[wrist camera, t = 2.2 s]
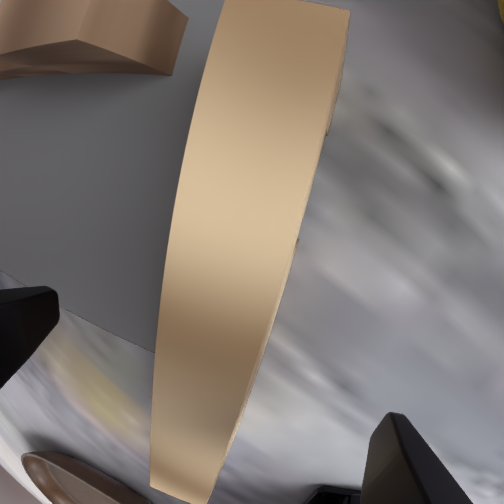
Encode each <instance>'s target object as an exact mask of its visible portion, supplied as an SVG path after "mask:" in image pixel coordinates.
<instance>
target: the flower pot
mask: <svg viewBox="0 0 504 504" xmlns="http://www.w3.org/2000/svg"><path fill="white" fill-rule="evenodd" d="M497 2H498V8H499V12H500V16H501V19H502V22H503V23H504V0H497Z"/></svg>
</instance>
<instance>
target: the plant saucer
mask: <svg viewBox="0 0 504 504" xmlns="http://www.w3.org/2000/svg"><path fill="white" fill-rule="evenodd" d="M21 461H22V465H23V467H24V469H25V471H26V473H27V474H28V476H29V477H30V479H31V480H32V482H33V483H34V484H35V485H36V487H37V488H38V489H39V490H40V491H41V492H42V493H43V494H44V495H45V496H46V497H47V499H48V500H49V501H50V502H52V503H53V504H152V503H151V502H149V501H148V500H147V499H145V498H144V497H142V496H141V495H139V494H138V493H136V492H134V491H133V490H131V489H130V488H128V487H127V486H125V485H123V484H122V483H120V482H118V481H117V480H115V479H113V478H112V477H110V476H108V475H107V474H105V473H103V472H101V471H99V470H98V469H96V468H94V467H92V466H90V465H88V464H86V463H84V462H82V461H80V460H78V459H75V458H73V457H70V456H67V455H64V454H60V453H54V452H30V453H25V454H23V455H22V456H21Z"/></svg>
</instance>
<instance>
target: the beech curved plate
mask: <svg viewBox="0 0 504 504" xmlns="http://www.w3.org/2000/svg"><path fill="white" fill-rule="evenodd" d="M349 19H350V11H349V10H345V9H341V8H336V7H332V6H327V5H322V4H317V3H312V2H306V1H300V0H225V2H224V5H223V8H222V11H221V14H220V17H219V20H218V24H217V27H216V30H215V34H214V37H213V40H212V44H211V47H210V51H209V54H208V58H207V62H206V65H205V69H204V73H203V77H202V80H201V84H200V88H199V92H198V96H197V100H196V104H195V108H194V113H193V117H192V121H191V126H190V130H189V134H188V139H187V144H186V148H185V153H184V158H183V163H182V168H181V173H180V178H179V183H178V188H177V194H176V199H175V205H174V211H173V217H172V223H171V229H170V235H169V242H168V248H167V255H166V262H165V269H164V277H163V284H162V292H161V301H160V309H159V319H158V328H157V339H156V350H155V362H154V375H153V391H152V410H151V437H150V486H151V487H153V488H155V489H157V490H159V491H162V492H164V493H166V494H169V495H171V496H173V497H176V498H178V499H181V500H183V501H186V502H188V503H191V504H207V502H208V500H209V497H210V495H211V493H212V490H213V488H214V486H215V483H216V481H217V479H218V476H219V474H220V471H221V469H222V467H223V464H224V462H225V459H226V457H227V454H228V452H229V449H230V447H231V444H232V442H233V439H234V437H235V434H236V432H237V429H238V426H239V424H240V421H241V418H242V415H243V412H244V410H245V407H246V404H247V401H248V398H249V395H250V392H251V389H252V386H253V384H254V381H255V378H256V375H257V372H258V369H259V366H260V363H261V360H262V357H263V354H264V351H265V348H266V345H267V342H268V339H269V335H270V332H271V329H272V326H273V323H274V320H275V317H276V314H277V310H278V307H279V304H280V301H281V298H282V294H283V291H284V288H285V285H286V281H287V278H288V275H289V272H290V268H291V265H292V262H293V258H294V255H295V251H296V248H297V245H298V241H299V239H298V238H297V237H298V234H299V230H300V227H301V223H302V220H303V216H304V213H305V209H306V206H307V202H308V198H309V195H310V191H311V188H312V184H313V180H314V176H315V173H316V169H317V165H318V161H319V158H320V154H321V150H322V146H323V142H324V138H325V135H326V136H327V135H328V131H329V128H330V124H331V120H332V116H333V112H334V107H335V103H336V99H337V95H338V91H339V87H340V83H341V78H342V73H343V66H344V59H345V51H346V44H347V36H348V27H349Z"/></svg>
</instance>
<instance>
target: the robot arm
mask: <svg viewBox="0 0 504 504" xmlns="http://www.w3.org/2000/svg"><path fill="white" fill-rule="evenodd" d="M59 318H60V312H59V297H58V293H57V292H56V291H55V290H54V289H52V288H50V287H48V286H35V287H24V288H13V289H2V290H0V389H1V388H2V387H3V386H4V385H5V383H6V382H7V381H8V380H9V379H10V378H11V377H12V376H13V375H14V374H15V373H16V372H17V371H18V370H19V369H20V367H21V366H22V365H23V364H24V363H25V362H26V361H27V360H28V359H29V358H30V357H31V355H32V354H33V353H34V352H35V350H36V349H37V348H38V347H39V345H40V344H41V343H42V342H43V340H44V339H45V338H46V337H47V336H48V334H49V333H50V332H51V331H52V329H53V328H54V327H55V326H56V325H57V323H58V321H59ZM303 504H473V503H472V502H471V500H470V499H469V498H468V496H467V495H466V494H465V492H464V491H463V490H462V488H461V487H460V486H459V484H458V483H457V482H456V480H455V479H454V478H453V477H452V475H451V474H450V473H449V471H448V470H447V469H446V467H445V466H444V465H443V464H442V462H441V461H440V460H439V458H438V457H437V456H436V455H435V453H434V452H433V451H432V449H431V448H430V447H429V445H428V444H427V443H426V442H425V440H424V439H423V438H422V436H421V435H420V434H419V433H418V431H417V430H416V429H415V428H414V426H413V425H412V424H411V422H410V421H409V420H408V419H407V417H406V416H405V415H403V414H399V413H394V412H389V413H387V414H386V415H385V417H384V418H383V419H382V421H381V422H380V424H379V425H378V427H377V428H376V429H375V431H374V432H373V434H372V436H371V438H370V442H369V449H368V455H367V461H366V467H365V473H364V478H363V484H362V490H361V491H353V490H346V489H340V488H334V487H328V486H322V487H319V488H317V489H316V490H315V491H314V492H313V494H312V495H311V496H310V497H309V498H308V499H307V500H306V501H305V502H304V503H303Z"/></svg>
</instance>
